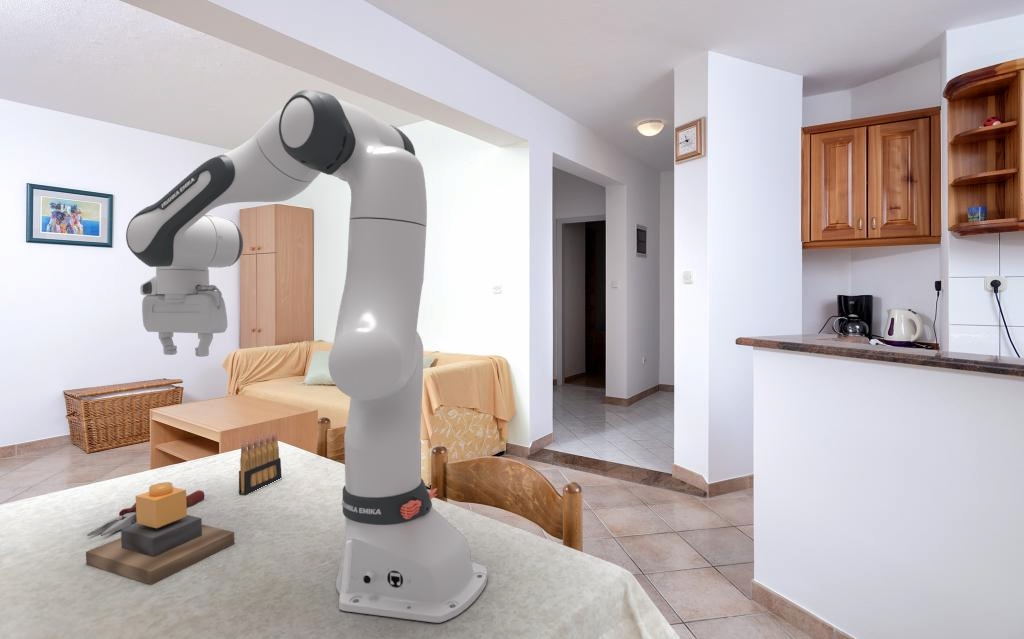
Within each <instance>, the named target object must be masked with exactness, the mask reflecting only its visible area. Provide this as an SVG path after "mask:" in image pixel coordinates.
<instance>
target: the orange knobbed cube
mask: <svg viewBox="0 0 1024 639" xmlns="http://www.w3.org/2000/svg"><path fill="white" fill-rule="evenodd" d="M148 490H149V491H147V492H144V493H141V494H138V495H135V503H136V518H137V522H136V524H137V523H138V524H142V525H146V526H149V527H153V528H159V527H161V526H164V525H166V524H169V523H171V522H174V521H176V520H179V519H181V518H184V517H186V516H187V515H188V511H187V510H188V507H187V505H186V496H187V490H186V489H183V488H179V487H173V483H172V482H167V481H166V482H159V483H156V484H151V485H150V486H149V487H148Z"/></svg>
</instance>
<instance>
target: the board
mask: <svg viewBox="0 0 1024 639" xmlns="http://www.w3.org/2000/svg"><path fill="white" fill-rule="evenodd" d="M232 545H235V532H234V531H231V530H226V529H223V528H222V529H221V528H219V527H218V528H217V527H213V526H211V525H210V526H209V525H205V524H202V518H201V517H198V516H194V515H189V514H187V516H186V517H184V518H181V519H179V520H176V521H174V522H171V523H169V524H166V525H164V526H161V527H159V528H153V527H149V526H146V525H142V524H138V523H137V522H136V523H134V524H133V525H132V524H131V525H130V526H128V527H126V528H123V529H121V530H120V538H118V539H115V540H112V541H109V542H107V543H105V544H102V545H100V546H97V547H95V548H92V549H90V550H87V551H85V558H86V559H85V561H86V564H85V565H88V566H91V567H94V568H98V569H101V570H104V571H107V572H110V573H113V574H117V575H120V576H123V577H126V578H129V579H131V580H135V581H138V582H141V583H143V584H147V585H154V584H155V583H157V582H160V581H161V580H163V578H164V579H165V578H168V577H169V576H171V575H173V574H176V573H178V572H180V571H181V570H184V569H186V568H188V567H189V566H192V565H194V564H196V563H199V562H200V561H202V560H204V559H206V558H208V557H210V556H213V555H215V554H216V553H218V552H220V551H222V550H224V549H226V548H228V547H231V546H232Z"/></svg>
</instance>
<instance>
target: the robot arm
mask: <svg viewBox="0 0 1024 639" xmlns="http://www.w3.org/2000/svg"><path fill="white" fill-rule="evenodd" d="M409 138H410V137H408V135H406V134H405V133H404V132H403V131H402V130H400V129H399V128H398V127H396V126H395V125H393V124H388V122H385V121H384V120H383V119H381V118H379V117H377V115H373V114H372V113H370V111H368V110H367V109H364V108H362V107H360V106H359V105H355V104H353V103H350V102H348V101H345V100H342V99H339V98H336V97H335V96H334V95H332V94H330V93H327V92H323V91H318V90H312V89H310V90H309V89H304V90H303V89H302V90H300V91H298V92H296V93H294V94H293V95H292V96H291V97H290V98H289V99H288V101H287V102H286V103H285V105H283V107H281V108H280V109H278V110H277V111H276V112H275V113H274V114H273V115H272V116H271V117H270V118H269V119H268V120H266V121H265V123H264V124H263V125H262V126H260V128H259V129H258V131H256V133H255V134H253V136H251V137H250V138H249V139H247V141H245V142H243V143H242V144H241V145H239V146H237V147H236V148H233V149H232V150H229V151H227V152H226V153H223V154H220V155H217V156H214V157H212V158H209V159H208V160H206V161H205V162H202V164H200V165H199V166H197V167H196V168H195V169H194V170H193V171H191V173H190V174H188V175H187V176H186V177H185V178H183V179H182V180H181V181H180V182H179V183H178V184H176V185H175V186H174V187H173V188H172V189H171V190H170V191H168V192H167V193H166V194H165V195H164V196H162V198H160V199H159V200H157V201H156V202H155V203H153V204H151V205H148V206H146V207H144V208H142V209H141V210H140V211H139V212H137V213H136V214H135V215H134V216H133V217H132V218H131V220H130V221H129V223H128V225H127V228H126V232H125V233H126V234H125V239H126V240H125V242H126V245H127V247H128V248H129V250H130V251H131V253H132V254H133V255H134V256H135V257H136V258H137V259H138V260H140V261H141V263H143V264H145V265H146V266H148V267H149V268H150V267H151V268H155V276H153V277H152V278H151V279H149V280H147V281H146V282H144V283H142V284H141V285H140V286H139V287H140V288H139V290H140V294H141V295H142V296H143V299H142V301H141V312H142V324H143V327H144V329H145V330H146V331H147V332H149V333H158V339H159V341H160V343H161V345H162V349H163V355H165V356H172V355H176V354H178V350H177V349H178V347H177V345H174V344H175V343H174V341H173V338H174V333H175V334H176V333H179V334H180V333H181V334H183V333H185V334H197V339H198V340H199V342H198V344H197V347H195V348H194V351H195V354H194V355H195V356H196V357H202V358H203V357H209V355H210V351H209V350H210V346H211V344H212V341H213V339H214V334H222V333H225V332H226V330H227V328H228V316H227V308H226V303H225V299H224V298H223V294H222V291H221V290H220V289H219V288H218V286H217V285H215V284H210V270H209V268H216V269H218V268H219V269H221V268H225V267H231V266H233V265H234V264H235V263H236V262H238V260H239V259H240V258H241V256H242V254H243V250H244V239H243V234H242V232H241V230H240V228H239V227H238V226H237V225H236V223H235V222H233V221H232V220H229V219H226V218H223V217H220V216H217V215H214V214H212V213H210V211H212V210H213V209H215V208H218V207H220V206H224V205H230V204H236V203H238V204H239V203H257V202H258V203H278V202H279V203H280V202H285V201H288V200H290V199H292V198H294V197H296V196H298V195H299V194H300V193H302V192H304V191H305V190H306V189H307V188H308V187H309V186H310V184H312V183H313V181H315V179H317V177H318V176H320V174H321V173H323V174H325V175H329V176H332V177H335V178H338V179H339V180H341V181H343V182H346V183H347V184H348V186H349V188H350V200H351V201H350V206H349V207H350V208H349V219H348V220H349V222H348V223H349V224H348V240H347V242H348V243H347V259H346V273H345V281H344V286H343V292H342V295H341V300H340V305H339V309H338V310H339V311H338V315H337V321H336V327H335V334H334V340H333V344H332V346H331V349H330V352H329V356H328V364H327V365H328V371H329V375H330V378H331V380H332V382H333V384H334V385H335V387H336V388H337V389H338V390H339V391H340V392H341V393H343V394H345V396H348V397H350V399H349V400H350V401H349V407H348V414H347V415H348V416H347V422H346V427H345V430H344V436H343V438H344V439H343V441H344V477H345V478H344V481H345V483H344V484H345V485H344V486H343V488H342V500H341V505H342V514H343V516H344V518H345V519H344V521H345V522H344V535H343V546H342V553H341V558H340V565H339V569H338V573H337V577H336V580H335V588H336V590H337V593H338V595H339V596H338V597H339V598H338V609H339V610H340V611H343V612H350V613H351V612H352V613H357V614H358V613H359V614H367V615H372V616H373V615H374V616H379V617H380V616H382V617H388V618H389V617H390V618H396V619H405V620H413V621H418V622H419V621H421V622H429V623H436V624H437V623H443V622H446V621H447V620H451V619H453V618H454V617H456V616H458V615H459V614H462V613H463V612H464V611H466V609H467V608H469V607H470V606H471V605H472V604H473V603H474V602H475V601H476V600H477V599H478V597H479V596H480V595H481V594H482V592H483V591H484V589H485V587H486V586H487V581H488V573H487V567H486V566H485V565H482V564H480V563H477V562H474V561H473V559H472V553H471V548H470V544H469V541H468V539H467V537H466V535H465V534H463V533H462V532H461V531H460V530H459V529H458V528H457V527H456V526H454V525H453V524H452V523H451V522H450V521H448V520H447V518H446V517H444V516H443V515H442V514H441V513H440V512H439V511H437V510H436V508H434V507H433V502H432V499H434V498H435V497H437V495H438V493H436V492H437V490H438V488H437V487H435V488H433V489H432V490H430V491H428V489H427V485H426V483H425V481H424V480H423V478H422V450H421V449H422V446H421V445H422V442H421V439H422V438H421V436H422V435H421V431H422V429H421V425H422V424H421V423H422V412H423V411H422V406H423V385H424V384H423V382H424V381H423V380H424V345H423V340H422V337H421V336H420V333H419V332H418V330H417V329H418V320H419V313H420V304H421V296H422V290H423V284H424V278H425V277H424V276H425V260H426V259H425V258H426V241H427V225H428V224H427V222H428V221H427V220H428V206H427V204H428V200H427V188H426V181H425V172H424V167H423V165H422V163H421V161H420V160H419V159H418V157H417V156H416V151H415V147H414V145H413V143H412V141H411V139H409Z"/></svg>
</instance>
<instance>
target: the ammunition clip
mask: <svg viewBox="0 0 1024 639" xmlns="http://www.w3.org/2000/svg"><path fill="white" fill-rule="evenodd" d="M260 434H261V435H260V439H259V435H257V434H255V437H254V440H253V438H252V437H251V436H249V438H248V441H247V440H246V439H245V438H243V439H242V442H241V445H240V459H239V464H240V466H239V467H240V468H239V469H240V470H238V495H242V494H243V495H244V496H248V495H249V493H250V494H251V492H252V493H254V492H256V491H258V490H257V489H259V488H261V487H263V486H265V485H267V486H269V485H268V484H270V483H272V482H274V481H276V480H278V479H280V478H283V477H282V460H281V457H280V449H279V448H280V447H279V440H278V435H277V434H278V433H277V431H276V429H275V428H274V429H273V430H272V433H271V432H270V431H269V430H268V431H267V432H266V436H265V434H264V433H263V432H262V433H260ZM246 441H247V442H246ZM276 482H277V481H276ZM274 483H275V482H274ZM272 484H273V483H272ZM270 485H271V484H270ZM265 487H266V486H265ZM263 488H264V487H263ZM261 489H262V488H261ZM255 490H256V491H255ZM259 490H260V489H259ZM253 491H254V492H253Z"/></svg>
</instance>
